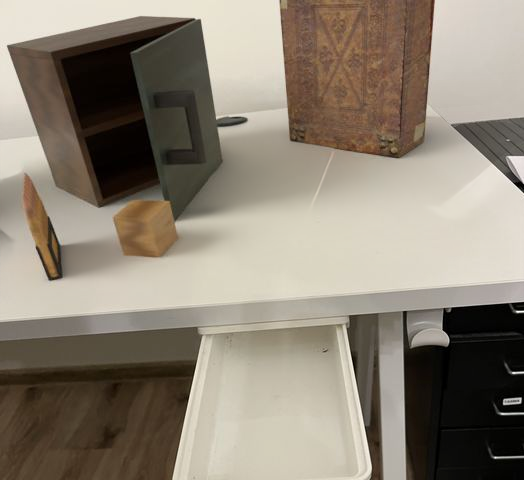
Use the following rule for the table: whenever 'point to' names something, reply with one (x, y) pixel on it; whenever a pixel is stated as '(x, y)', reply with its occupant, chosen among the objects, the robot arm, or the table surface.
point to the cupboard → (92, 106)
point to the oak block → (146, 228)
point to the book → (357, 72)
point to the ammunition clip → (42, 230)
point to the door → (179, 112)
